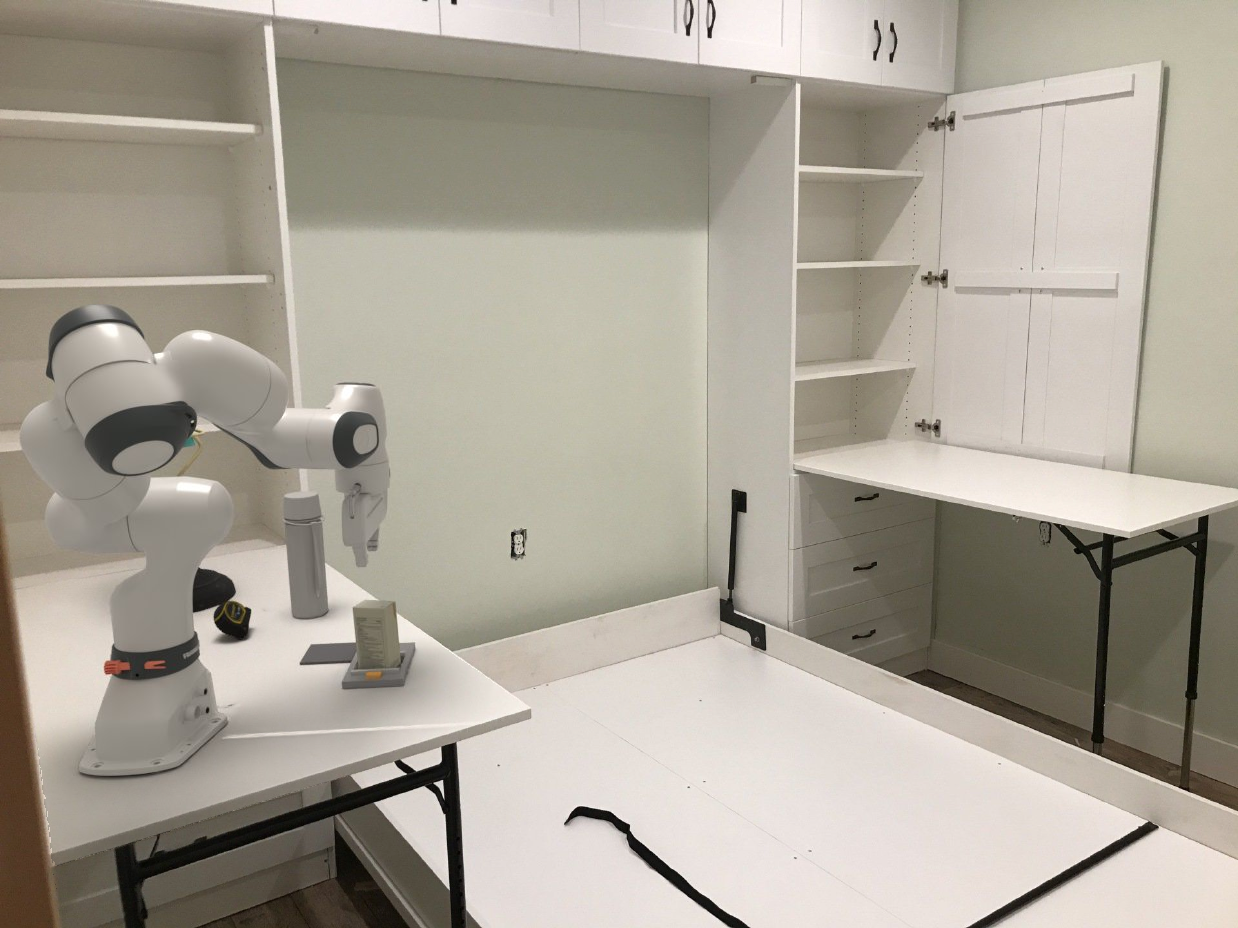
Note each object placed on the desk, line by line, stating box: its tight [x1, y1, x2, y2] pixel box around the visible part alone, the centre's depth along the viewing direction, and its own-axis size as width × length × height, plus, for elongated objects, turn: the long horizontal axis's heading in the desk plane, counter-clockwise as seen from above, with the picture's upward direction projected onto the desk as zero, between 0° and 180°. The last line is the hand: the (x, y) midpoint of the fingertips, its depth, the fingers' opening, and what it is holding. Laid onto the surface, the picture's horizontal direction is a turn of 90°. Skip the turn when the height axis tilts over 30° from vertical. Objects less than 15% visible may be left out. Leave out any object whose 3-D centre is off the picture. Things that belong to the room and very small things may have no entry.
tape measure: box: [213, 600, 252, 640], centre depth 187 cm, size 7×7×4 cm
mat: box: [299, 641, 357, 666], centre depth 178 cm, size 9×9×1 cm
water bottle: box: [282, 490, 329, 620], centre depth 196 cm, size 9×8×25 cm
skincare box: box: [352, 599, 402, 670], centre depth 169 cm, size 6×4×12 cm
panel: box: [341, 641, 416, 690], centre depth 171 cm, size 17×10×2 cm, turn 5°
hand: (367, 558), depth 166 cm, fingers open, 8 cm apart
